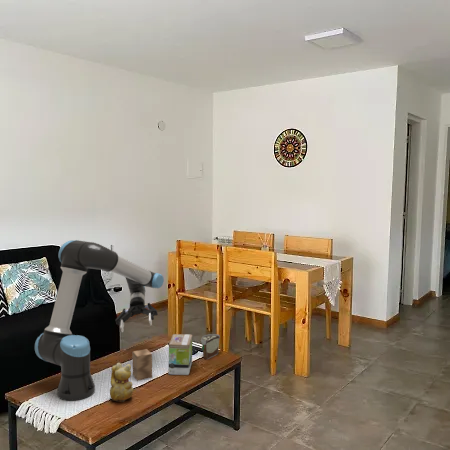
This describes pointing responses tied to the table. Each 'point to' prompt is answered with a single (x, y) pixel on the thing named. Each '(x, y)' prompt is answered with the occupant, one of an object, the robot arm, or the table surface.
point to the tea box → (180, 354)
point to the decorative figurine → (121, 383)
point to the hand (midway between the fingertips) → (136, 326)
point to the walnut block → (142, 364)
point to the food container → (210, 345)
